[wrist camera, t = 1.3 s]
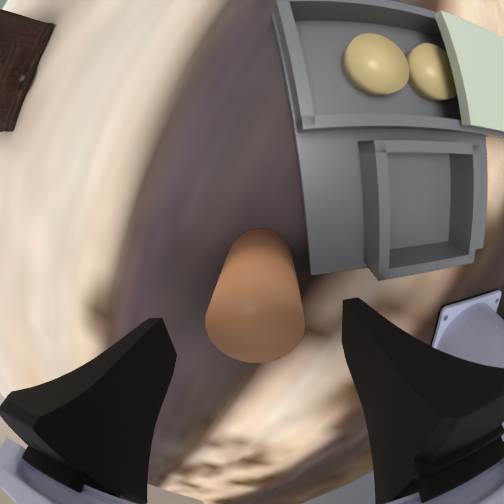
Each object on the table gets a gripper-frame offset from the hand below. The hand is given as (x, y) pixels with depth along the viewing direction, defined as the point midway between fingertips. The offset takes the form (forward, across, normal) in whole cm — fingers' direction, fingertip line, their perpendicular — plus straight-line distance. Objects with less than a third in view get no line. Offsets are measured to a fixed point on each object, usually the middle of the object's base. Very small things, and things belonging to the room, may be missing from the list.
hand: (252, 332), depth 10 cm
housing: (+7, -10, -7) cm, 14 cm away
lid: (+3, -18, -11) cm, 21 cm away
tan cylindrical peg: (+7, 0, 0) cm, 7 cm away
